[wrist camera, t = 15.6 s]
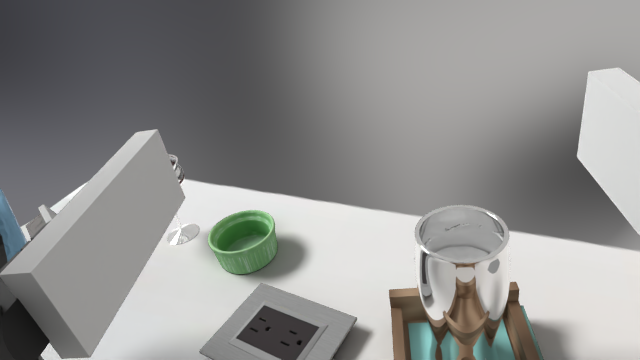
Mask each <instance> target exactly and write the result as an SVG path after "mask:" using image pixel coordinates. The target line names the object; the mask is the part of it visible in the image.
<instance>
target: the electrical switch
mask: <svg viewBox="0 0 640 360" xmlns="http://www.w3.org/2000/svg"><path fill="white" fill-rule="evenodd" d="M38 209H39V210H40V212H41V213H40V214H39V215H38V216H36V217H35V218H34V220H33V221H31V222H30V223H28V224H27V225H26V228H27V230H28V232H29V235H30V237H31V238H32V237H33V236H34V235H35V234H36V233H37V231H38V230H39V229H40V228H41V227H42V226H43V225H45V224H46V223H48V222H49V221H51V220H52V219H53V218H54V217H55V216H56V215H57V214H56V213H55V212H53V211H52V210H51V209H49V208H48V207H47V206H45V205H44V204H43V205H42V206H40V207H39V208H38Z"/></svg>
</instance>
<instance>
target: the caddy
mask: <svg viewBox="0 0 640 360" xmlns="http://www.w3.org/2000/svg"><path fill="white" fill-rule="evenodd" d="M389 297H390V304H391V317H392V335H393V352H394V360H429V358H428V355H429V348H430V344H431V331H430V327H429V324H428V321H427V319H426V316H425V313H424V310H423V307H422V304H421V300H420V297H419V293H418V289H417V288H409V289H393V290H389ZM518 298H519V288H518V285H517V283H516V282H510V286H509V294H508V299H507V303H506V307H505V310H504V313H503V316H502V320H501V322H500V325H499V328H498V331H497V335H496V349H497V353H498V356H499V360H544V359H543V357H542V354H541V352H540V349H539V346H538V344H537V341H536V338H535V336H534V333H533V330H532V328H531V325H530V322H529V320H528V317H527V314H526V312H525V309H524V306H520V304H519V301H518Z"/></svg>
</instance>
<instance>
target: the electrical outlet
mask: <svg viewBox="0 0 640 360" xmlns="http://www.w3.org/2000/svg"><path fill="white" fill-rule="evenodd" d="M356 321H357V317H354V316H351V315H348V314H346V313H343V312H340V311H337V310H335V309H332V308H329V307H326V306H324V305H321V304H318V303H316V302H313V301H310V300H307V299H305V298H302V297H299V296H296V295H294V294H291V293H288V292H285V291H283V290H280V289H277V288H274V287H272V286H269V285H266V284H263V283H261V284H260V285H259V286H258V287H257V288H256V289H255V290H254V291H253V293H252V294H251V295H250V296H249V297H248V298H247V299H246V300H245V301H244V302H243V304H242V305H241V306H240V307H239V308H238V309H237V310H236V311H235V312H234V313H233V315H232V316H231V317H230V318H229V319H228V320H227V321H226V322H225V323H224V324H223V326H222V327H221V328H220V329H219V330H218V331H217V332H216V333H215V334H214V335H213V337H212V338H211V339H210V340H209V341H208V342H207V343H206V344H205V345H204V346H203V348H202V349H201V350H200V351H199V352H200V353H201V354H203V355H204V356H206V357H208V358H210V359H212V360H331V359H332V358H333V356H334V355H335V353H336V351H337V350H338V348H339V347H340V345H341V344H342V342H343V341H344V339H345V338H346V336H347V334H348V333H349V331H350V330H351V328H352V327H353V325H354V324H355V322H356Z"/></svg>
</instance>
